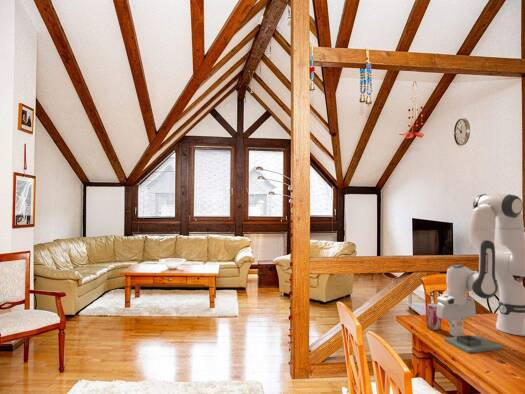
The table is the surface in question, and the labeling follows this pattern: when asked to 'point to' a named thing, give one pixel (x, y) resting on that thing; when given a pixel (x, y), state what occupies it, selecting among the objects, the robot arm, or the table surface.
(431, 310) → the soda can
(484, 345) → the board
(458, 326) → the plug
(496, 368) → the table surface
